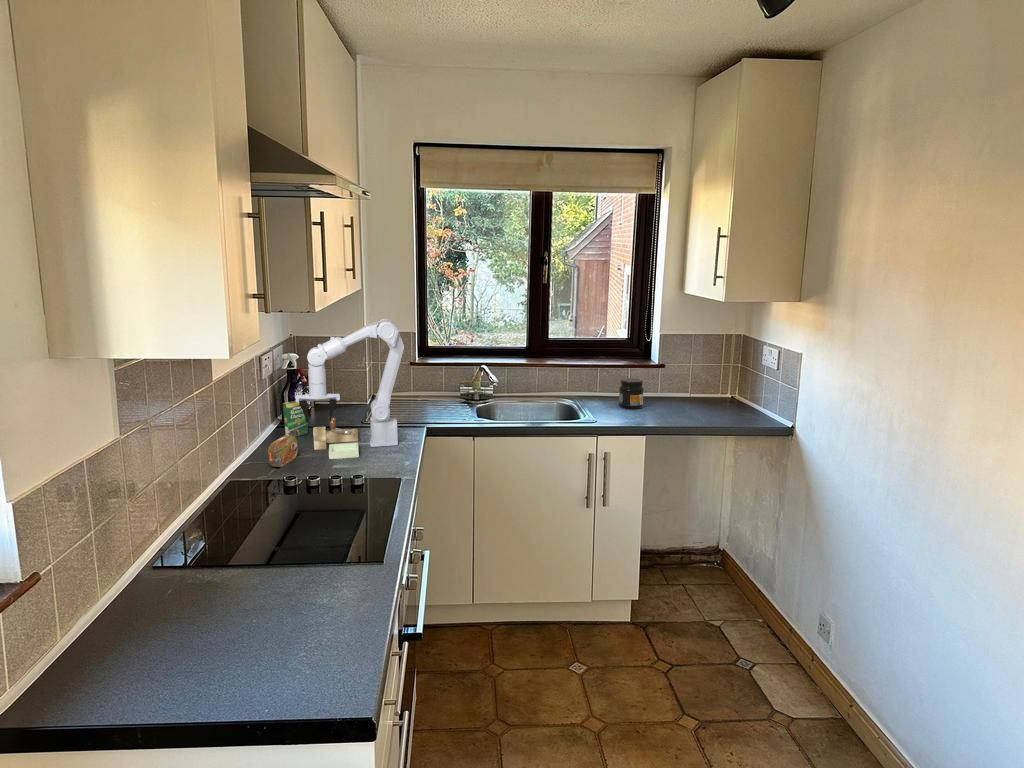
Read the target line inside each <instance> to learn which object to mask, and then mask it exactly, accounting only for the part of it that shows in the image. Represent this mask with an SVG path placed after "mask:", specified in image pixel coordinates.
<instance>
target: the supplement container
mask: <svg viewBox="0 0 1024 768" xmlns="http://www.w3.org/2000/svg"><path fill="white" fill-rule="evenodd" d="M618 389H619V390H618V391H619V393H618V406H619V407H620V408H621V409H625V410H639V409H642V408H643V406H644V390H645V388H644V380H643V379H641V378H636V377H625V378H623V377H622V378H621V379H620V385H619V388H618Z"/></svg>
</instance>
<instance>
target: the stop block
mask: <svg viewBox="0 0 1024 768" xmlns="http://www.w3.org/2000/svg"><path fill="white" fill-rule="evenodd" d="M312 430H313V432H312V434H313V448H314V449H313V450H314V451H316V450H326V449H327V444H328V443H326V431H327V428H326V426H314V427H313V429H312Z"/></svg>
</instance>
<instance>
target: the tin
mask: <svg viewBox="0 0 1024 768" xmlns="http://www.w3.org/2000/svg"><path fill="white" fill-rule="evenodd" d="M298 453H299V442H298V438H297V436H296V437H295V436H294V435H285V434H284V435H283V436H281V437H279V438H278V439H276V440H274V441H272V442H271V443H270V445H269V446H268V449H267V455H268V462H269V465H270V466H272V467H275V468H277V467H279V468H282V466H283V467H284V466H286V465H287V464H289V463H291V462H292V461H293V460H295V459H296V458H297V457H298ZM290 461H291V462H290Z"/></svg>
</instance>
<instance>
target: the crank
mask: <svg viewBox="0 0 1024 768" xmlns="http://www.w3.org/2000/svg"><path fill="white" fill-rule="evenodd" d="M327 420H328V421H329V417H328V418H327ZM336 421H337V418H336V417H332V419H331V421H329V430H331V431H333V432H338V433H342V434H344V435H347V434H351V429H352V428H344V429H343V428H338V427H336Z"/></svg>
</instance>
